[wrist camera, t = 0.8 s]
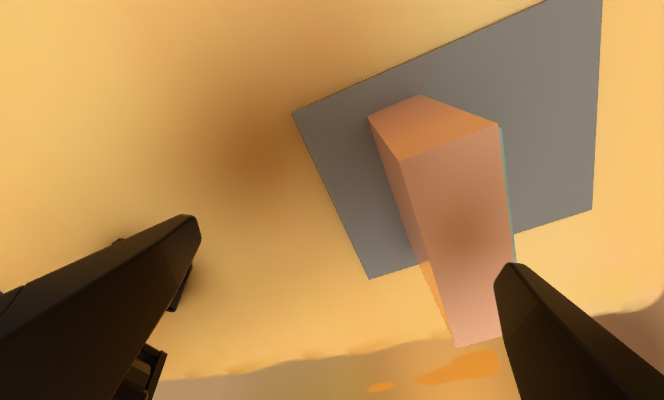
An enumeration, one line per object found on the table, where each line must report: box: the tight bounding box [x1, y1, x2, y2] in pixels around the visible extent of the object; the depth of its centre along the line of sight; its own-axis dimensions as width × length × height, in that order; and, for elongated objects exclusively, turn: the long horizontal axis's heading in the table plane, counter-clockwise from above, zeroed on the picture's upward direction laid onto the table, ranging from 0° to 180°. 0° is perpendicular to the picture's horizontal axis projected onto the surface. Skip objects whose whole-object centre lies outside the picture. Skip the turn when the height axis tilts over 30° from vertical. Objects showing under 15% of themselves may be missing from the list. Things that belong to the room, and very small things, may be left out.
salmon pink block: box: [366, 94, 517, 348], centre depth 16 cm, size 4×12×9 cm, turn 22°
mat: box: [291, 0, 603, 280], centre depth 20 cm, size 19×16×1 cm
